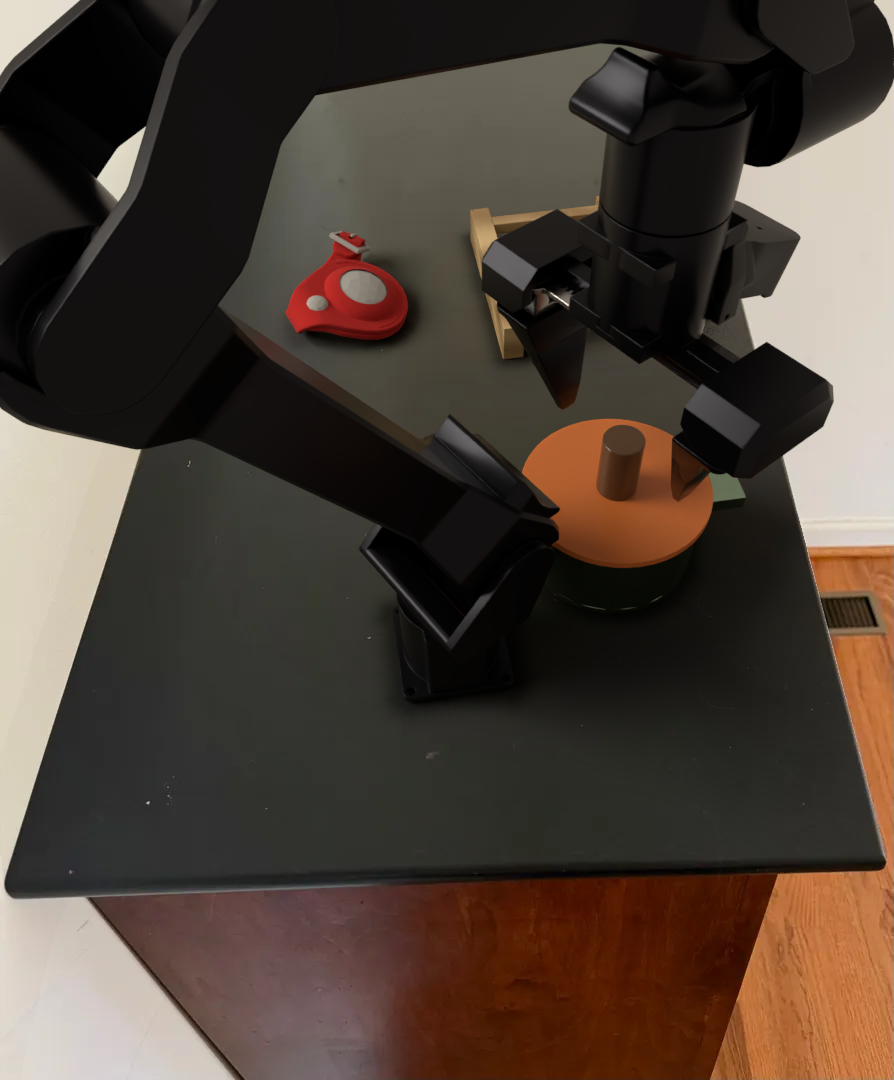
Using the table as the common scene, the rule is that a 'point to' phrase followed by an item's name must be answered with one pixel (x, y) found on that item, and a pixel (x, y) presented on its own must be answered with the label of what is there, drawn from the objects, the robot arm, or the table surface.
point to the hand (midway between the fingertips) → (621, 448)
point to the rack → (481, 238)
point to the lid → (617, 493)
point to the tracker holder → (348, 295)
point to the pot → (630, 569)
